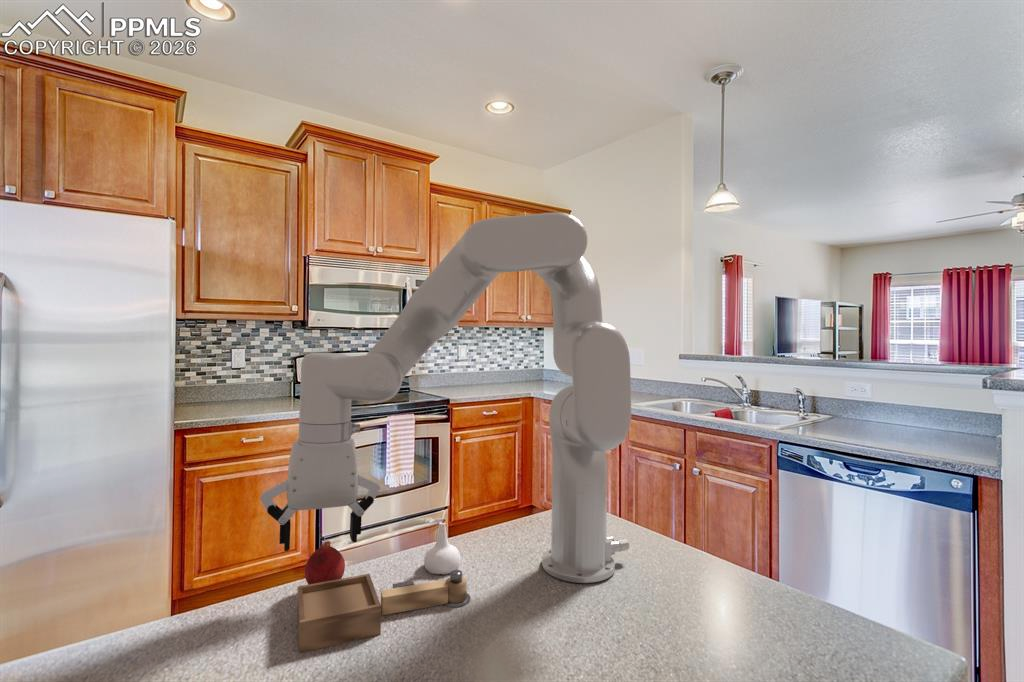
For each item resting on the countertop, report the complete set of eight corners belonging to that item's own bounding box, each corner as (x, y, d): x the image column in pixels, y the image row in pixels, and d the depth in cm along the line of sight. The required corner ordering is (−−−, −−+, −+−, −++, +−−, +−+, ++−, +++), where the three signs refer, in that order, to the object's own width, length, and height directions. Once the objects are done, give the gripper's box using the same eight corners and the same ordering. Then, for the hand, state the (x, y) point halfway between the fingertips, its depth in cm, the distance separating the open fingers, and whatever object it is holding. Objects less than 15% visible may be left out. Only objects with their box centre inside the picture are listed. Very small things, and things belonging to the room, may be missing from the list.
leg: (463, 590, 78) (463, 574, 78) (469, 600, 75) (469, 584, 75) (380, 605, 73) (380, 588, 73) (383, 617, 70) (383, 599, 70)
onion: (331, 604, 74) (331, 550, 74) (296, 600, 75) (296, 547, 75) (351, 585, 80) (351, 535, 80) (318, 582, 81) (319, 532, 81)
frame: (463, 588, 80) (463, 562, 79) (474, 603, 75) (474, 576, 75) (392, 602, 75) (392, 575, 75) (399, 620, 70) (399, 591, 70)
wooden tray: (369, 598, 76) (369, 573, 76) (380, 634, 67) (381, 605, 67) (297, 612, 72) (297, 586, 72) (299, 652, 63) (299, 622, 63)
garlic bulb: (467, 568, 88) (469, 521, 88) (445, 579, 82) (449, 529, 83) (438, 560, 91) (441, 515, 91) (415, 570, 85) (419, 522, 86)
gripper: (377, 426, 84) (374, 528, 84) (263, 430, 77) (259, 541, 77) (386, 434, 78) (382, 545, 78) (261, 440, 70) (257, 561, 70)
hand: (320, 543), depth 77 cm, fingers open, 9 cm apart
